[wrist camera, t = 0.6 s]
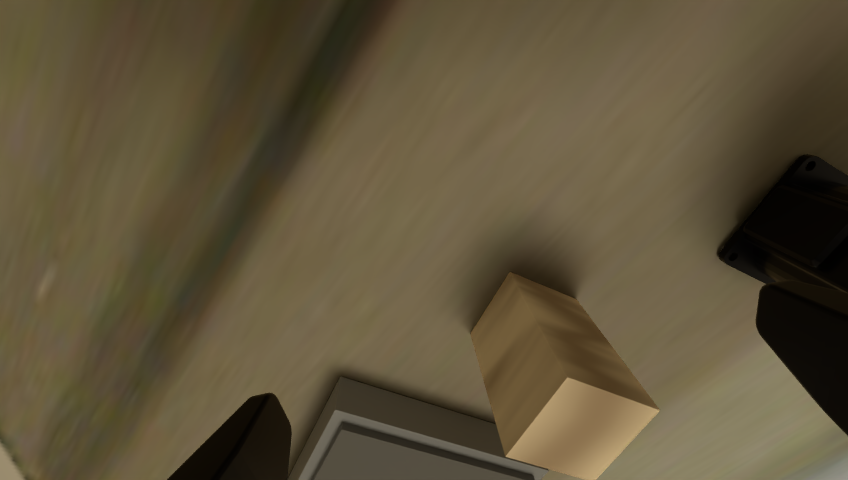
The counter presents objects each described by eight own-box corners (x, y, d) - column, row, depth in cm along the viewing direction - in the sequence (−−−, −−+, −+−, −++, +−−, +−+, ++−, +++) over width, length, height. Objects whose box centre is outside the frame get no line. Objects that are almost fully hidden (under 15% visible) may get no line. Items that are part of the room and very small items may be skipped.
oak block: (576, 299, 23) (660, 410, 16) (534, 357, 25) (593, 481, 18) (509, 271, 22) (567, 377, 15) (470, 333, 24) (505, 456, 17)
